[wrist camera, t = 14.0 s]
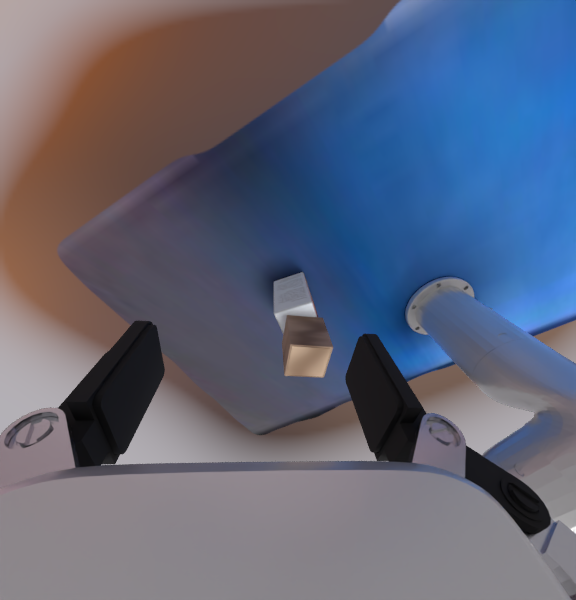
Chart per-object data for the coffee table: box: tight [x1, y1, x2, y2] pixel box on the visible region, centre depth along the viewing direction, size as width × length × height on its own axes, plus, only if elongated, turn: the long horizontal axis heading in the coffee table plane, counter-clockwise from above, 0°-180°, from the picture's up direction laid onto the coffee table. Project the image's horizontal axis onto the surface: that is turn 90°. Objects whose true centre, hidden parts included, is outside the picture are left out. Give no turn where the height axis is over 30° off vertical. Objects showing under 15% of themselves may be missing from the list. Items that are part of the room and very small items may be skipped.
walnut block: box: [282, 315, 333, 377], centre depth 30 cm, size 5×5×6 cm
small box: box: [274, 272, 318, 334], centre depth 38 cm, size 8×6×10 cm
